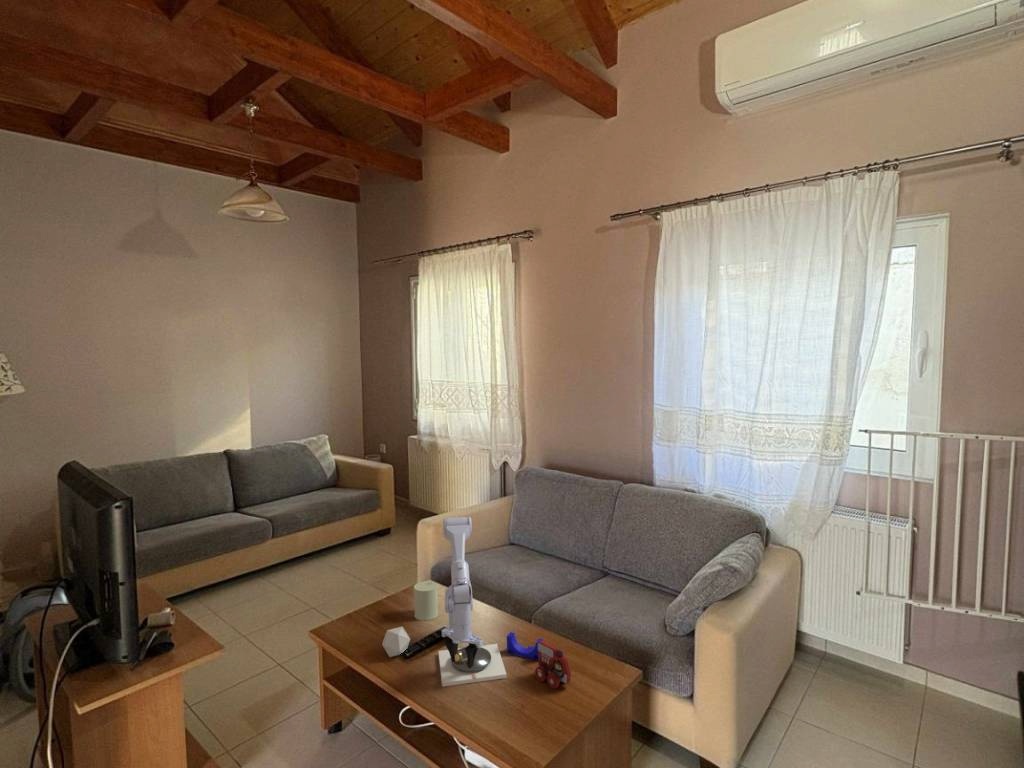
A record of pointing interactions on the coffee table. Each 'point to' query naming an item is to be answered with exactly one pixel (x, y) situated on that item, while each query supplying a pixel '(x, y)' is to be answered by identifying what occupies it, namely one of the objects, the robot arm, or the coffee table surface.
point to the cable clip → (521, 648)
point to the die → (395, 641)
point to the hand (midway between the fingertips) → (462, 663)
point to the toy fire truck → (552, 665)
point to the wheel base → (462, 677)
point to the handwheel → (479, 663)
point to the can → (426, 600)
